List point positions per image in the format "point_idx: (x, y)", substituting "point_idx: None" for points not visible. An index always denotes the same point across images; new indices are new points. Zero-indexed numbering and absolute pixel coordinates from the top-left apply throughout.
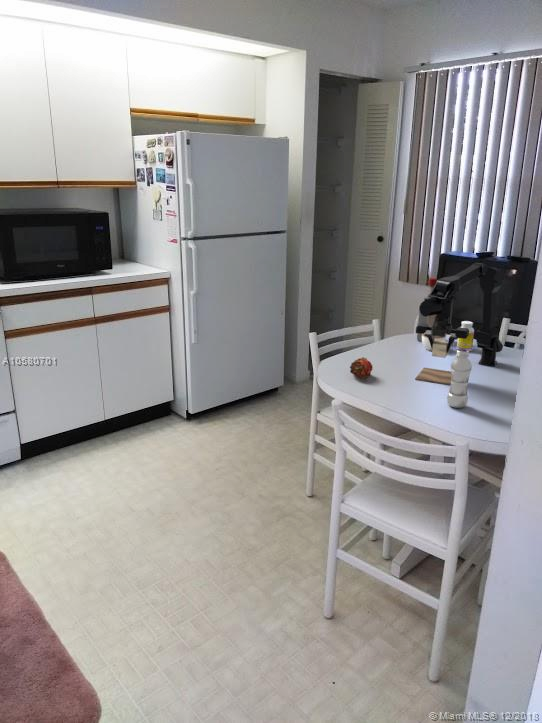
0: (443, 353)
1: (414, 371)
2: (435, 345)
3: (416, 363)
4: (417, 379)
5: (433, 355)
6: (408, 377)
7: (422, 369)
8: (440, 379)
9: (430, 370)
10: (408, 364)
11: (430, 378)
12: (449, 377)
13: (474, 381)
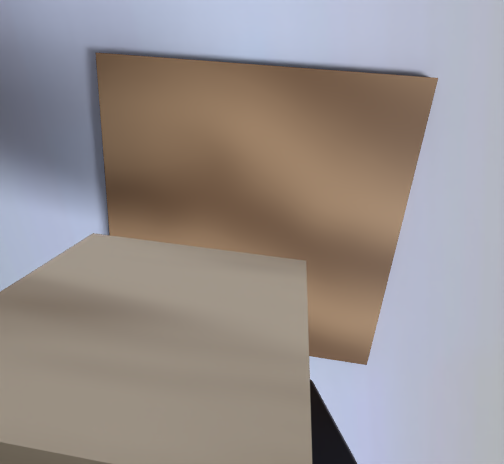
0: (81, 269)
1: (438, 289)
2: (214, 425)
3: (422, 442)
4: (412, 77)
5: (277, 263)
6: (499, 122)
7: (376, 323)
8: (210, 137)
9: (313, 317)
10: (484, 416)
11: (294, 131)
12: (155, 211)
13: (2, 216)
